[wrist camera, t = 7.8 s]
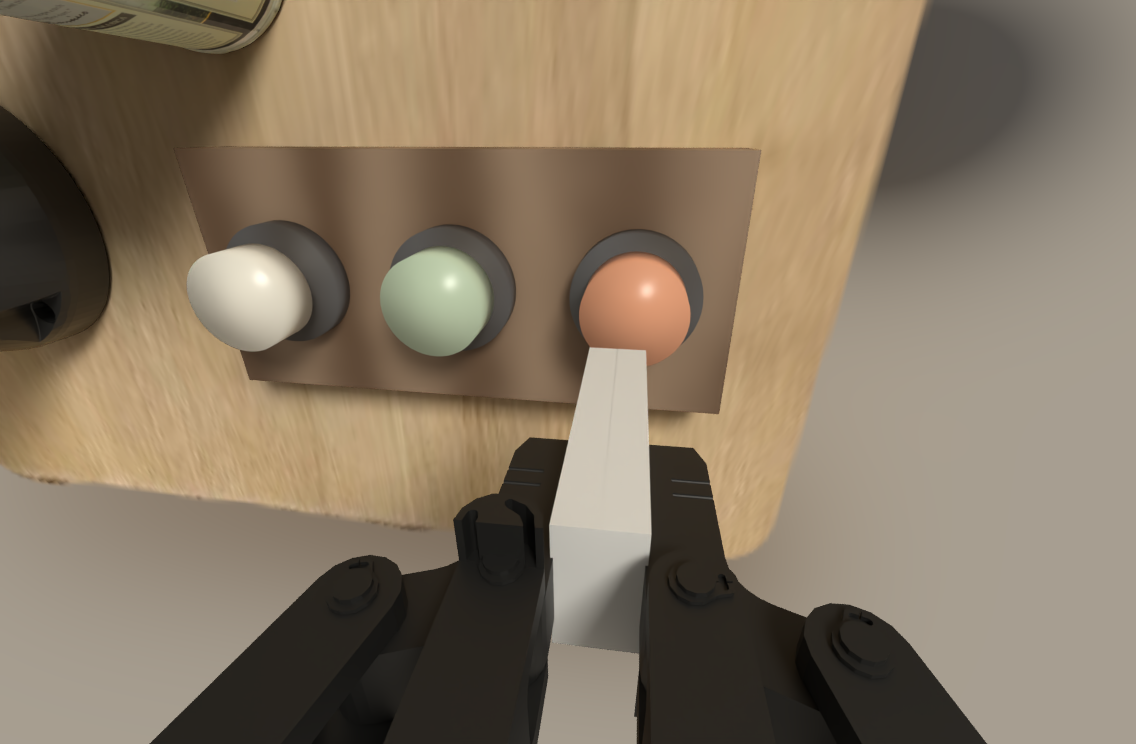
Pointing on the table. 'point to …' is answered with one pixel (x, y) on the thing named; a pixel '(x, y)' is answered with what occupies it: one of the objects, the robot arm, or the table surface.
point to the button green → (437, 300)
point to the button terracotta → (636, 306)
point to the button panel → (484, 254)
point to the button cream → (249, 296)
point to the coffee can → (158, 19)
